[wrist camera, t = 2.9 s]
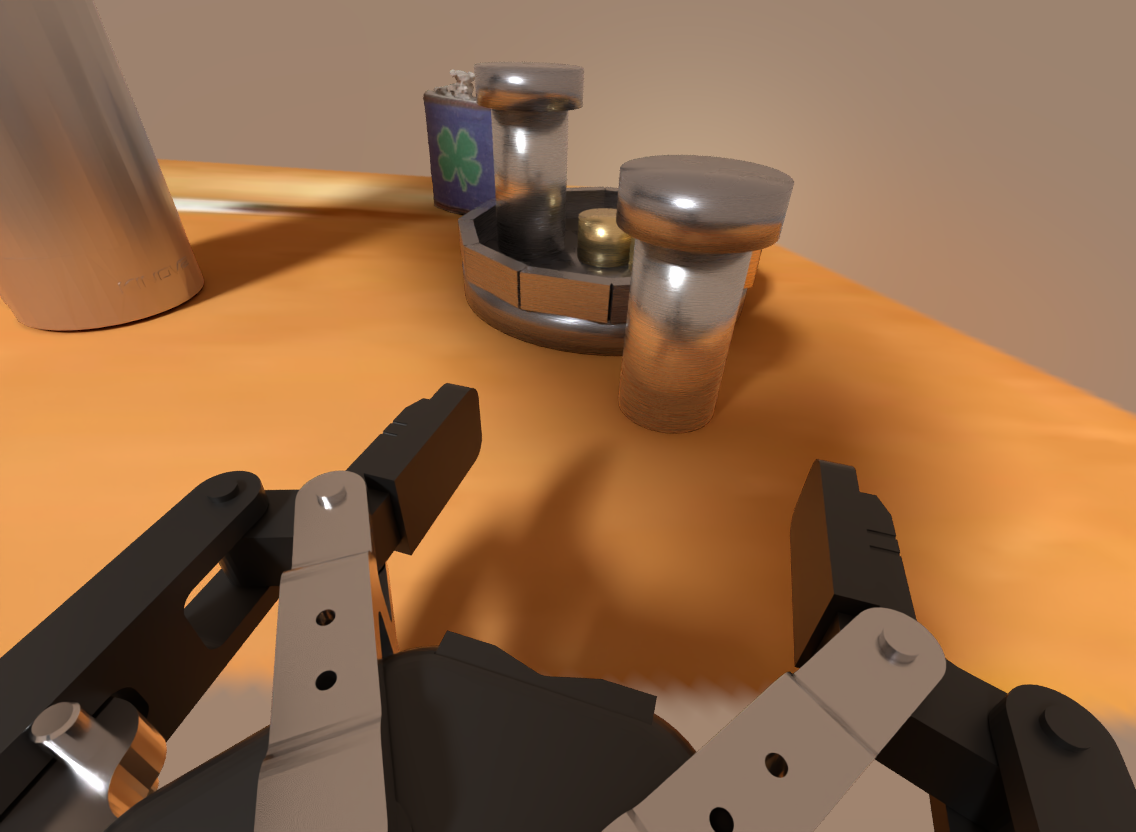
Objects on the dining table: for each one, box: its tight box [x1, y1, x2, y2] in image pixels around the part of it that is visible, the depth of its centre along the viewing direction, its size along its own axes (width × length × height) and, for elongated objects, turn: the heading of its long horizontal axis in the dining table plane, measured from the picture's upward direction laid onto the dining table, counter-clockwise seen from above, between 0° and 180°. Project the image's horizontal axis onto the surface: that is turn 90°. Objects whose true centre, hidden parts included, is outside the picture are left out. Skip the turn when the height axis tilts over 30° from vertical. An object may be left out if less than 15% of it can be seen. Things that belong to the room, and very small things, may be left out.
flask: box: [423, 70, 496, 215], centre depth 45 cm, size 9×3×11 cm, turn 54°
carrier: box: [458, 62, 762, 356], centre depth 32 cm, size 18×18×12 cm
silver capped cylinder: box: [616, 155, 794, 433], centre depth 22 cm, size 6×6×10 cm
